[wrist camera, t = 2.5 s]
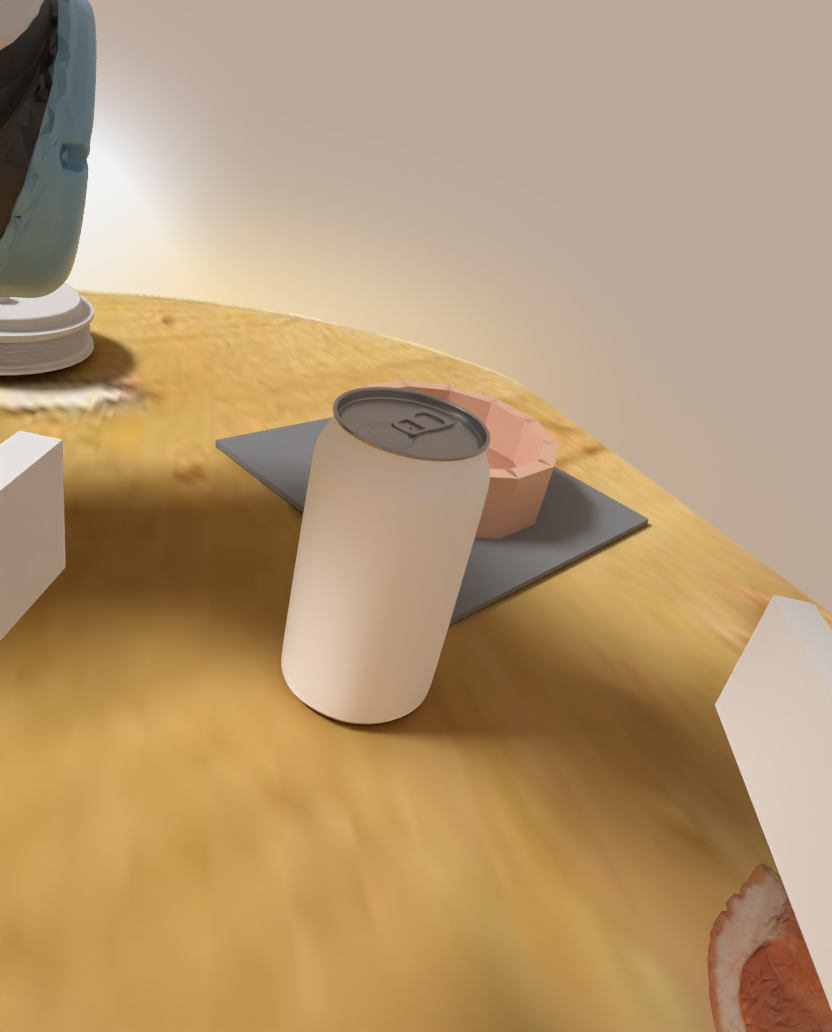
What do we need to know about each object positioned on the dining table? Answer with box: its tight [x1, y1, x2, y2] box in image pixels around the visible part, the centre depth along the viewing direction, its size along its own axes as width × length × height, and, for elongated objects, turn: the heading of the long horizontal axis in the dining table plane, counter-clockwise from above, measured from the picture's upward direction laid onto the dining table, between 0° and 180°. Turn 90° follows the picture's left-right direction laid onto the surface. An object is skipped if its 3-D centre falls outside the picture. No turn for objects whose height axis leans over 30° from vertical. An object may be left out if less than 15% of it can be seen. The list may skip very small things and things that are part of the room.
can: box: [281, 387, 490, 725], centre depth 30 cm, size 6×6×12 cm
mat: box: [216, 418, 649, 625], centre depth 49 cm, size 20×20×1 cm
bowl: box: [361, 380, 559, 539], centre depth 48 cm, size 13×13×4 cm
